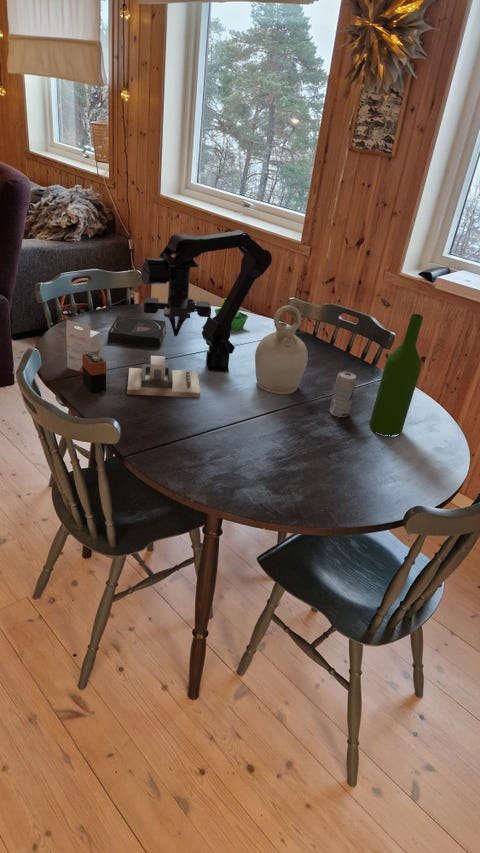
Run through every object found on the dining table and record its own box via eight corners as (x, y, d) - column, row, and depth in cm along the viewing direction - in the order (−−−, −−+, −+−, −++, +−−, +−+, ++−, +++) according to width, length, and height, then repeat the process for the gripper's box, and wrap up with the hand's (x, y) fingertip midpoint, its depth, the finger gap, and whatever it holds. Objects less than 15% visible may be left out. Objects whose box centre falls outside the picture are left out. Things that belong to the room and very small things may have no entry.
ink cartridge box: (101, 369, 166) (101, 322, 158) (91, 375, 162) (90, 327, 154) (77, 362, 168) (75, 315, 161) (66, 368, 164) (64, 319, 157)
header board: (196, 375, 170) (197, 365, 168) (199, 397, 158) (201, 386, 156) (129, 372, 166) (129, 361, 165) (127, 394, 154) (127, 382, 153)
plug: (164, 375, 164) (165, 356, 161) (164, 385, 158) (165, 366, 155) (150, 374, 163) (150, 355, 160) (149, 385, 157) (150, 365, 154)
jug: (256, 371, 178) (267, 293, 165) (304, 380, 176) (319, 303, 164) (246, 391, 165) (258, 309, 152) (298, 401, 163) (314, 319, 151)
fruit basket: (248, 328, 210) (251, 299, 205) (231, 333, 204) (235, 302, 199) (226, 319, 217) (229, 290, 211) (209, 323, 211) (212, 293, 205)
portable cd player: (160, 349, 185) (160, 338, 183) (108, 343, 184) (108, 332, 182) (166, 331, 199) (166, 321, 197) (117, 326, 198) (118, 315, 196)
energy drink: (349, 411, 161) (358, 373, 155) (346, 419, 157) (355, 381, 151) (331, 407, 162) (339, 369, 156) (327, 414, 158) (336, 376, 152)
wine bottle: (400, 424, 158) (434, 313, 142) (402, 440, 150) (437, 324, 134) (368, 418, 159) (398, 307, 143) (368, 433, 151) (399, 318, 135)
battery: (91, 394, 152) (90, 360, 147) (82, 383, 157) (81, 350, 152) (106, 391, 154) (106, 358, 149) (97, 381, 159) (97, 348, 154)
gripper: (144, 288, 147) (142, 344, 155) (215, 294, 150) (209, 348, 158) (145, 276, 157) (143, 329, 164) (211, 282, 160) (206, 333, 168)
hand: (175, 335), depth 163 cm, fingers closed
